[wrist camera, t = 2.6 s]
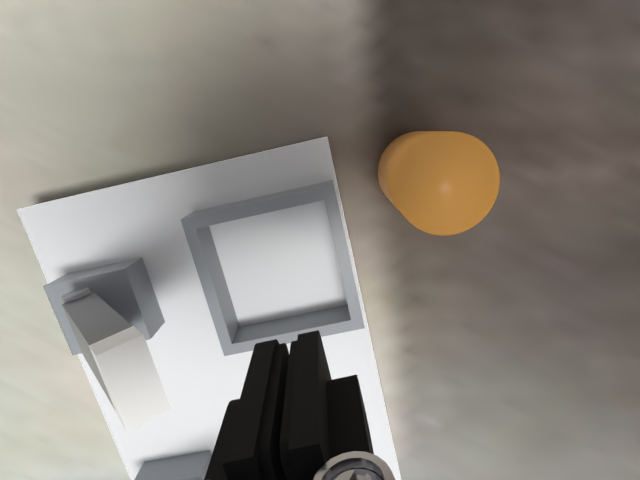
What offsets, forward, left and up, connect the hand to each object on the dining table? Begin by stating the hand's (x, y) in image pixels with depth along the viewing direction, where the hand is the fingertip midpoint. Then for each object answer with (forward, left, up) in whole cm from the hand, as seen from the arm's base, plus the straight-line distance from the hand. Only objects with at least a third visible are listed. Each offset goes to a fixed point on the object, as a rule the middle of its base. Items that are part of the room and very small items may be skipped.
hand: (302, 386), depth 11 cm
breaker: (+11, 0, -9) cm, 15 cm away
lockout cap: (-7, -3, -14) cm, 16 cm away
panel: (+6, +5, -14) cm, 16 cm away
